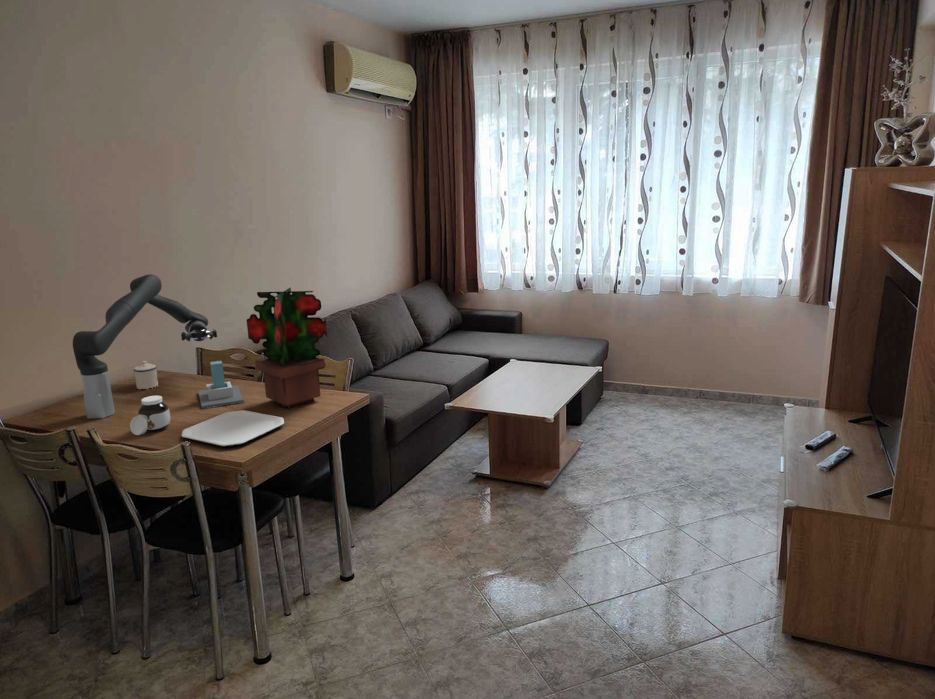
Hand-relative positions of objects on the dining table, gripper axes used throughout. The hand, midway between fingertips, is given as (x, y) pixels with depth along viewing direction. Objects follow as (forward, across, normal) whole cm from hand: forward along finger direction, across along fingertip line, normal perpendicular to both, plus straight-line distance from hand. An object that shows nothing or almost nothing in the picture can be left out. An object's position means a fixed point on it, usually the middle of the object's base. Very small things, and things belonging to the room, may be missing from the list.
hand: (199, 338), depth 282 cm
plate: (+56, +7, +25) cm, 62 cm away
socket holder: (+14, +5, +23) cm, 28 cm away
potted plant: (+32, +32, +24) cm, 51 cm away
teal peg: (+14, +5, +22) cm, 27 cm away
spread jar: (+42, -21, +25) cm, 53 cm away
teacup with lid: (-19, -24, +23) cm, 38 cm away
